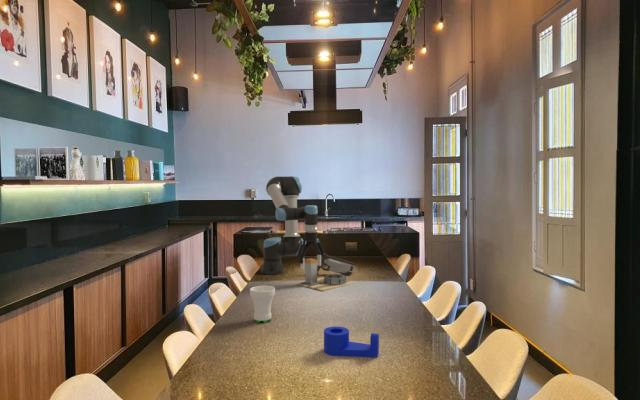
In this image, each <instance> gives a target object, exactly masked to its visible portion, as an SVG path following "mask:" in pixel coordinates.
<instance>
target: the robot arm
mask: <svg viewBox="0 0 640 400" xmlns="http://www.w3.org/2000/svg"><path fill="white" fill-rule="evenodd" d="M265 187H266V188H265V191H266V193H267V195H268V196H269V197H270V198H271V201H272V202H273V204H274V206H275V219H276V221H282V222H284V228H285V229H284V230H285V232H284V234H283V236H282V237H280V236H273V237H269V238H266V239H265V240H264V241H263V247H262V248H263V262H262V264H261V265H262V266H261V269H260V273H261V274H262V275H269V276H270V275H271V276H275V275H281V274H284V272H285V271H284V265H283V262H282V257H293V256H294V257H295V256H296V257H297V258H299V264H300V269H301V270H305V259H306V258H305V256H306V255H307V254H306V253H307V252H308V250H309V249H311V248H314V250H315V251H316V253H317V254H316V257H317V265H319V266H321V260H322V256H323V253H325V250H324V248H323V247H324V246H323V244H322V241H321V240H322V239H321V238H318V216H319V214H318V213H319V212H318V205H314V204H311V205H309V204H308V205H305V206H302V207H298V198H299V197H300V194H301V193H302V189H303V185H302V180H300V178H299V177H298V176H274V177H272V178H271V179H269V180H268V181H267V184H266V186H265ZM298 221H304V239H305V240H304V239H303V238H302V237H301V235H300V233H299V230H298V229H299V225H298V224H299V223H298Z"/></svg>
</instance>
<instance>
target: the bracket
mask: <svg viewBox="0 0 640 400" xmlns="http://www.w3.org/2000/svg"><path fill="white" fill-rule="evenodd" d="M369 341H370V343H363V342H355V341H350V329H348V328H346V327H344V326H336V325H335V326H328V327H326V328H324V329H323V352H324V354H326V355H328V356H333V357H350V358H351V357H353V358H354V357H357V358H359V357H360V358H378V357H379V352H380V334H379V333H375V332H374V333H373V332H371V333H370V340H369Z"/></svg>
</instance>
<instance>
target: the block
mask: <svg viewBox="0 0 640 400" xmlns="http://www.w3.org/2000/svg"><path fill="white" fill-rule="evenodd" d="M304 271H305V274H304V275H305V276H304V282H305V283H308V284H314V283H317V279H318V275H317V259H314V257H313V258H312V257H310V258H305V269H304Z"/></svg>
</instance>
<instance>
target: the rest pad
mask: <svg viewBox="0 0 640 400" xmlns="http://www.w3.org/2000/svg"><path fill="white" fill-rule="evenodd" d="M300 283H301V282H300ZM301 284H305V285H309V286H313V285H317V284H322V283H321V282H317V283H314V284H308V283H305V281H302V283H301Z"/></svg>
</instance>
